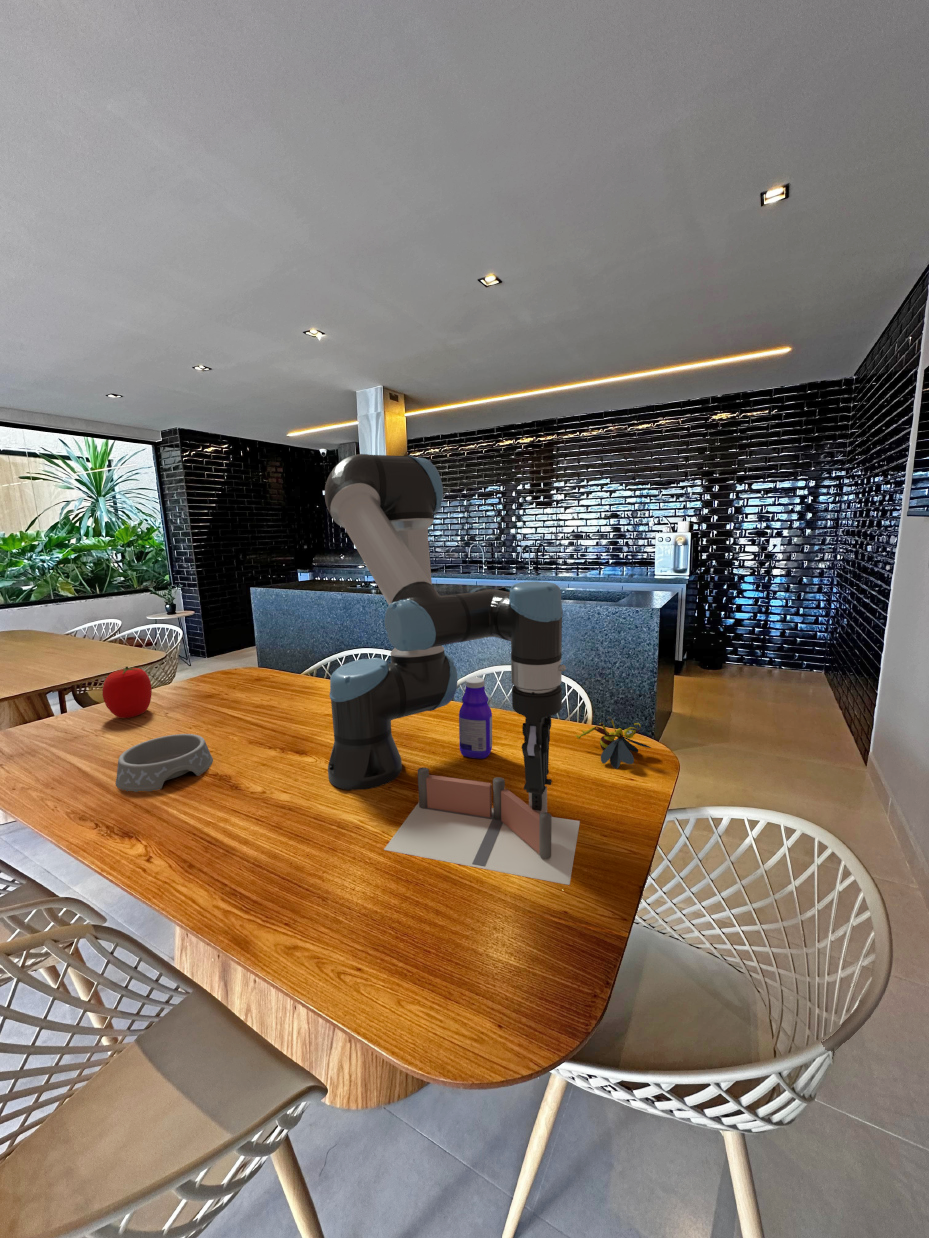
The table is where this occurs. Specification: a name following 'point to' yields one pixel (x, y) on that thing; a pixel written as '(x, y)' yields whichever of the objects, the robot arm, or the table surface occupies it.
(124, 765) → the dog bowl
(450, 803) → the fence fixed
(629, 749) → the toy
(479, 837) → the card
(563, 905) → the table surface
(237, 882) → the table surface
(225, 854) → the table surface
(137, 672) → the tomato
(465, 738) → the bottle
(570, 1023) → the table surface
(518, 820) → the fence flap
